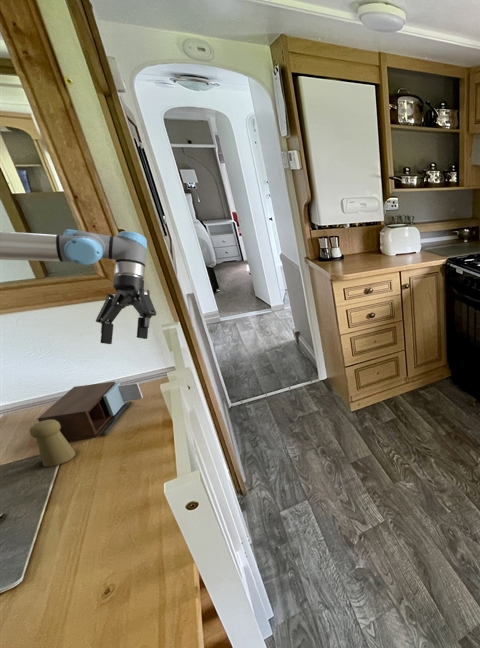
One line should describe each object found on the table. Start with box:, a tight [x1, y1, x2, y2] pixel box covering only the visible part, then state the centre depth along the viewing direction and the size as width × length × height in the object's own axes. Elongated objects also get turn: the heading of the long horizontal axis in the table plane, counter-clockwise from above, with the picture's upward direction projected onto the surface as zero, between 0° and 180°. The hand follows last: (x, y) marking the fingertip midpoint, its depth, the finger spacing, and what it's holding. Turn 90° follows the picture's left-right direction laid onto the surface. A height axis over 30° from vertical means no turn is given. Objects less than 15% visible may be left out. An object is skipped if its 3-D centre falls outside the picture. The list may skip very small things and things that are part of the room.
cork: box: [29, 420, 76, 468], centre depth 95 cm, size 6×6×11 cm
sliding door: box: [103, 381, 144, 417], centre depth 117 cm, size 6×9×7 cm, turn 21°
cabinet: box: [37, 381, 132, 443], centre depth 111 cm, size 12×18×8 cm
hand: (123, 340), depth 120 cm, fingers open, 13 cm apart
